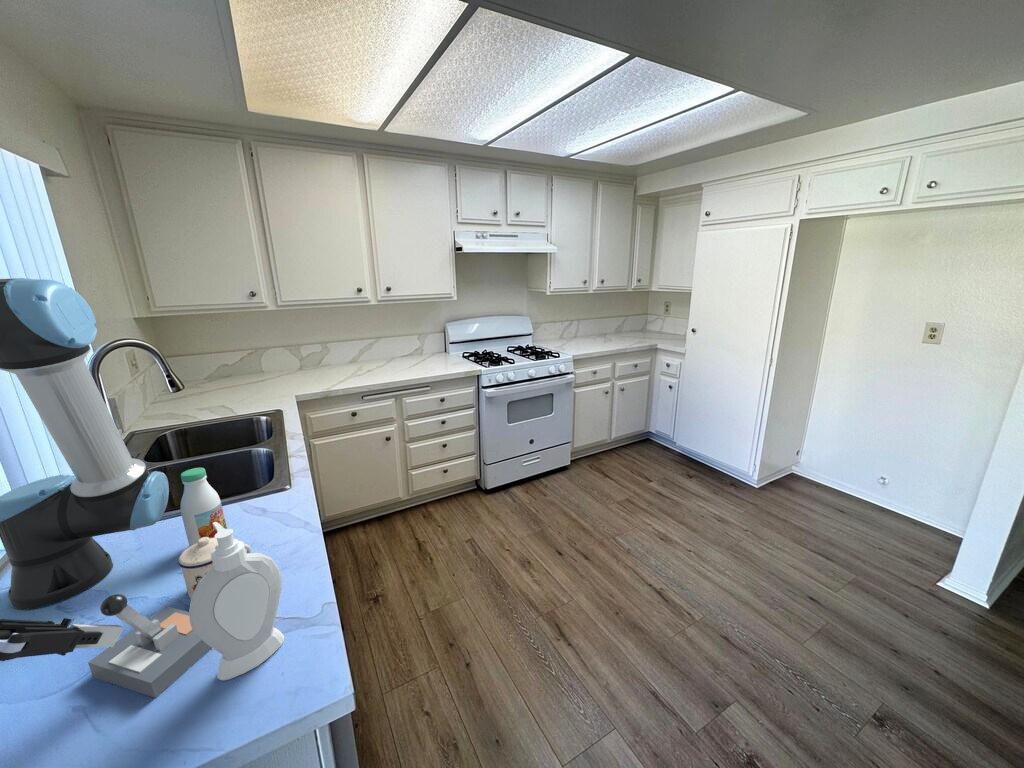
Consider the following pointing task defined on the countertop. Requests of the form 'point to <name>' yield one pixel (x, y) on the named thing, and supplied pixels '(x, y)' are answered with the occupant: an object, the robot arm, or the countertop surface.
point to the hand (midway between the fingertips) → (115, 635)
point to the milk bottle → (200, 506)
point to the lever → (129, 615)
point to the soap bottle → (237, 606)
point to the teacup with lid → (198, 562)
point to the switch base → (151, 655)
